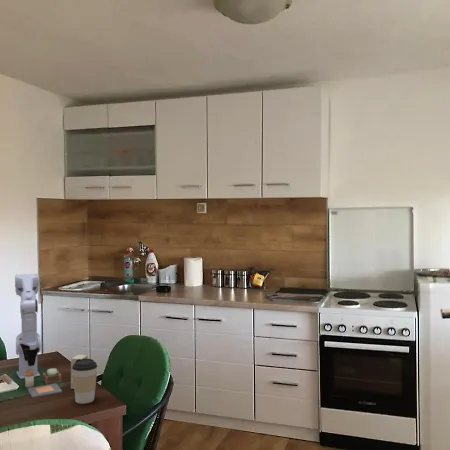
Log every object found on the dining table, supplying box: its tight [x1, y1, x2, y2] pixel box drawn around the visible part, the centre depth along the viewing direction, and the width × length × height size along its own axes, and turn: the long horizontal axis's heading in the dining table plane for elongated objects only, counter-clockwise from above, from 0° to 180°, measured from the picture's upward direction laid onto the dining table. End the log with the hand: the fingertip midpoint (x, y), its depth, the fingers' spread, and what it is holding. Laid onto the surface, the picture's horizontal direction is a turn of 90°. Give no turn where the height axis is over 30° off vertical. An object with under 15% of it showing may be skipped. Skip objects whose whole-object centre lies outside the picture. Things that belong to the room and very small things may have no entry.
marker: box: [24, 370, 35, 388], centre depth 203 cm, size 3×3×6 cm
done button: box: [46, 367, 58, 377], centre depth 208 cm, size 4×4×3 cm
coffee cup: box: [72, 358, 98, 405], centre depth 188 cm, size 9×9×15 cm
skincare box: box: [70, 354, 88, 390], centre depth 202 cm, size 6×4×12 cm
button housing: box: [42, 370, 62, 385], centre depth 208 cm, size 6×6×3 cm
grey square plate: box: [27, 383, 63, 399], centre depth 197 cm, size 10×11×1 cm
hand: (29, 362), depth 203 cm, fingers open, 7 cm apart
